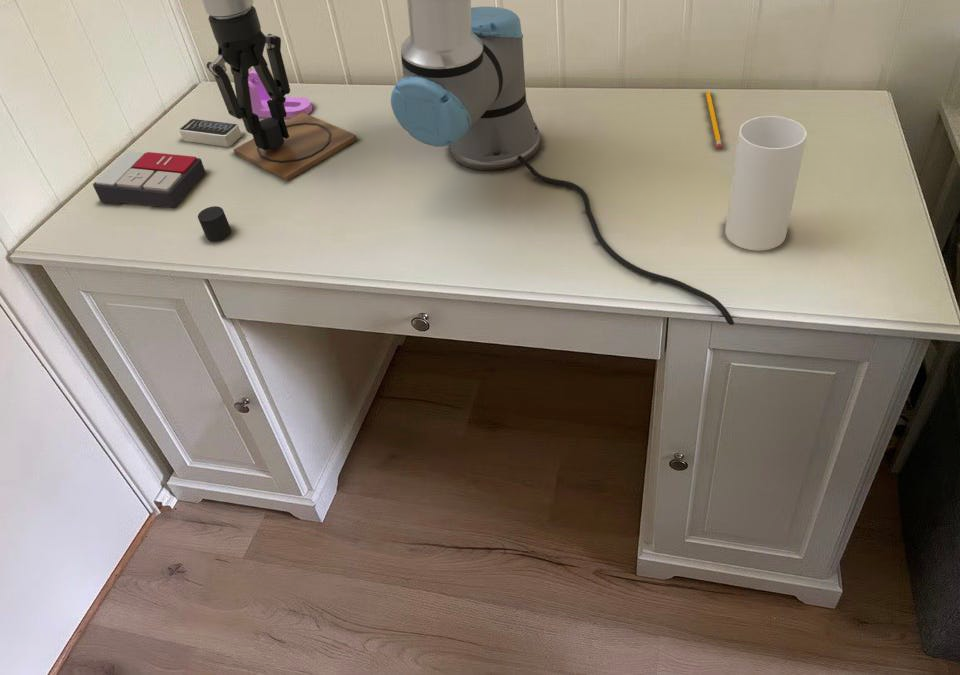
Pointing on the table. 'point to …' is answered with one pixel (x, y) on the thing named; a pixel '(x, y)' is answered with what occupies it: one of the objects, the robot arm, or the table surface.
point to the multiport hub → (210, 132)
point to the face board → (298, 147)
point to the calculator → (149, 179)
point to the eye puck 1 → (214, 224)
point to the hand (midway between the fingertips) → (272, 141)
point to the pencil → (714, 121)
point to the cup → (764, 181)
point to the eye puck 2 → (272, 133)
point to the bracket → (261, 97)
